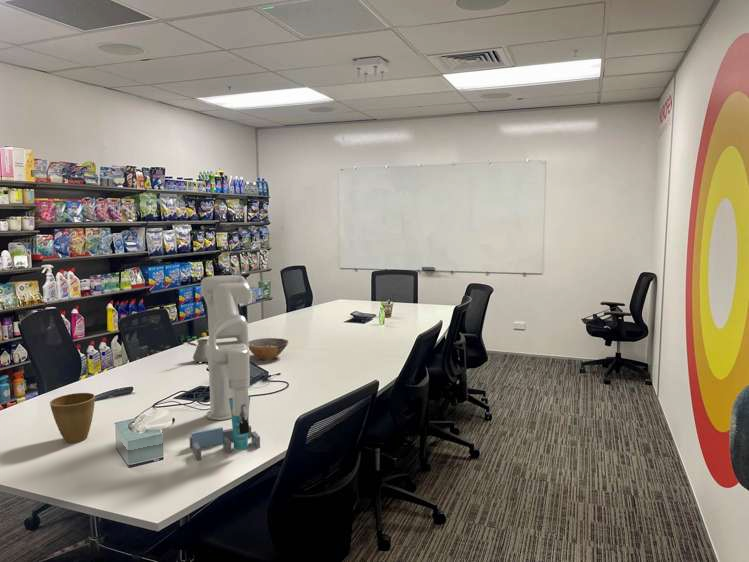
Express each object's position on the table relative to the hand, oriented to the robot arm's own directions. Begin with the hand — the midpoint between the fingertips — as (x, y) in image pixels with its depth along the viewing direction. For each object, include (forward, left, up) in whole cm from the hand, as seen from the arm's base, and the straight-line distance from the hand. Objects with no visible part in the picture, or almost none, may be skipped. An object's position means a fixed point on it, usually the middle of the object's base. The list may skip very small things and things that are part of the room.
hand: (240, 428), depth 198 cm
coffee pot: (-128, +10, -8) cm, 129 cm away
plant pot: (-38, -53, -8) cm, 66 cm away
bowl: (-121, +49, -8) cm, 131 cm away
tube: (0, 0, -8) cm, 8 cm away
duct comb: (-4, -5, -7) cm, 10 cm away
